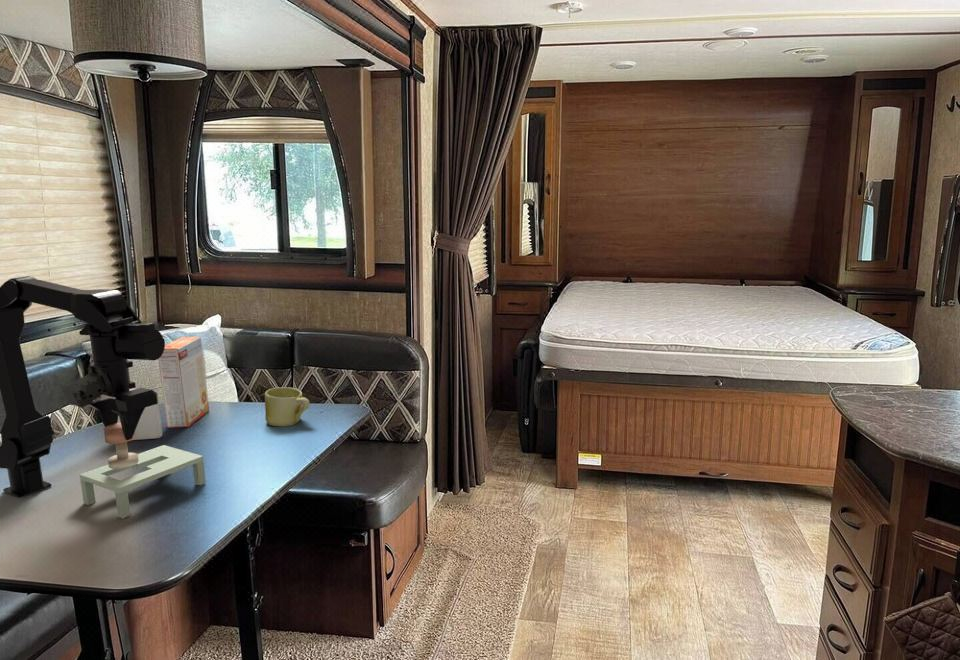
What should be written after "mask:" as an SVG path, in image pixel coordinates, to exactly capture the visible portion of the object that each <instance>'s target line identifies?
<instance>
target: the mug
mask: <svg viewBox="0 0 960 660" xmlns="http://www.w3.org/2000/svg"><path fill="white" fill-rule="evenodd" d="M310 404H311V403H310V400H309V399H308V398H306V397H304V395H303V392H302V391H301V390H300V389H297V388H295V387H289V386H288V387H282V386H281V387H279V386H277V387H273V388H270V389H268V390H266V391H265V392H264V408H265V409H264V410H265V415H264V416H265V422H266V423H267V425H269V426H273V427H289V426H290V427H291V426H293V425H296V424H298V423H299V421H300V420H301V417H302V415H303V413H304V412H305V411H306V410H307V409H308V408H309V407H310Z"/></svg>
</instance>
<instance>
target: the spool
mask: <svg viewBox="0 0 960 660" xmlns="http://www.w3.org/2000/svg"><path fill="white" fill-rule="evenodd" d="M103 434H104V441H105V443H106V444H110V445H115V452H116V455H112V456H110V457H109V458H108V459H107V463H108V464H107V465H109V467H110V468H112V469H121V468H127V467H130V466H133V465H135V464H137V463H138V462H139V460H138V454H139V453H136V452H129V449H128V442H130V441H134V440H133V439H134V438H135V437H136V436H135V432H134V435H133V437H132V439H130V440H126V439H125V437H124V434H123V430H122V426H121V423H115V424H111V425H108V426H106V427H105V426H104V427H103Z"/></svg>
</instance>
